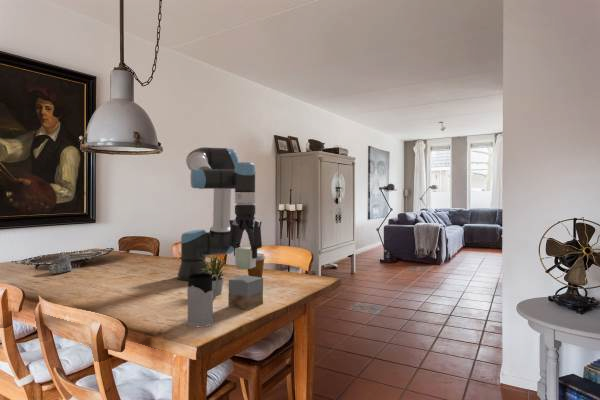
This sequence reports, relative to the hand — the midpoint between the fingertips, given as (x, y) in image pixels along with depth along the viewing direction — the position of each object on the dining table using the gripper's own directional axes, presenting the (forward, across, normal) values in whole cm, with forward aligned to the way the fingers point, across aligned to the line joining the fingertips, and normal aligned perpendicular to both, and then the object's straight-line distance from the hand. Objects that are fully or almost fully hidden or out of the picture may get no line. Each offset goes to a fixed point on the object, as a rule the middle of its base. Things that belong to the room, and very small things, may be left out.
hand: (245, 266), depth 133 cm
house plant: (+15, -22, +5) cm, 27 cm away
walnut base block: (+15, 0, 0) cm, 15 cm away
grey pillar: (+15, -1, -19) cm, 24 cm away
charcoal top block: (+10, 0, 0) cm, 10 cm away
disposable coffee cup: (+15, -23, +34) cm, 44 cm away
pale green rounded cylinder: (0, 0, 0) cm, 0 cm away
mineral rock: (+15, -121, -9) cm, 122 cm away
